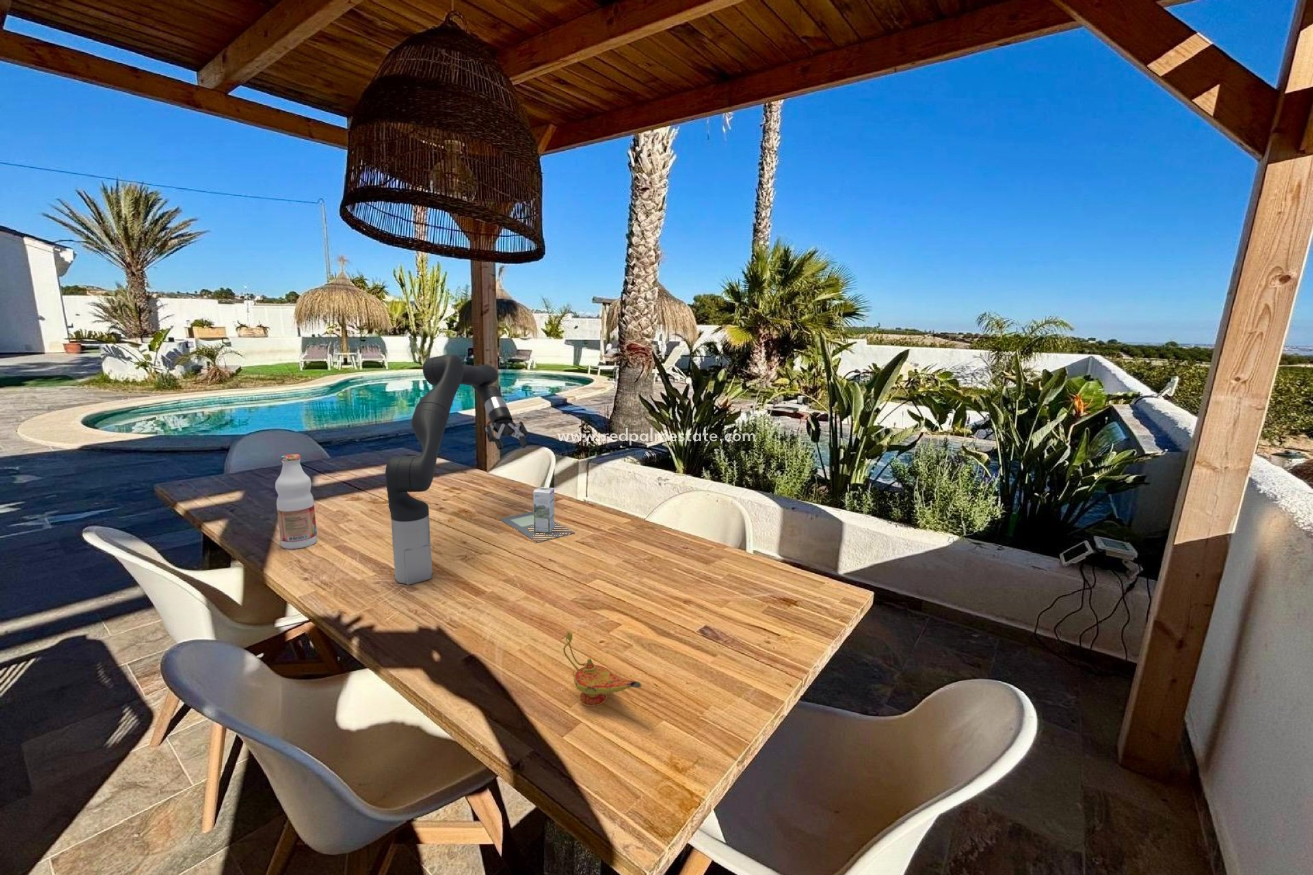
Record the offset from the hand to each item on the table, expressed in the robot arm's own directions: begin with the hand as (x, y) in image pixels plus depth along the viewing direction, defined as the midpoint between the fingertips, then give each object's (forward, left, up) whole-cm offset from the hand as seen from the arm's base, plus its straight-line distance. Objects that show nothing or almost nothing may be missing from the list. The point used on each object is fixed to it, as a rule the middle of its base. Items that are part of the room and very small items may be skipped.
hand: (513, 448), depth 185 cm
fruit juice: (+19, +63, -26) cm, 71 cm away
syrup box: (-17, -2, -26) cm, 31 cm away
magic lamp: (-99, +33, -26) cm, 107 cm away
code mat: (-11, -2, -26) cm, 28 cm away
